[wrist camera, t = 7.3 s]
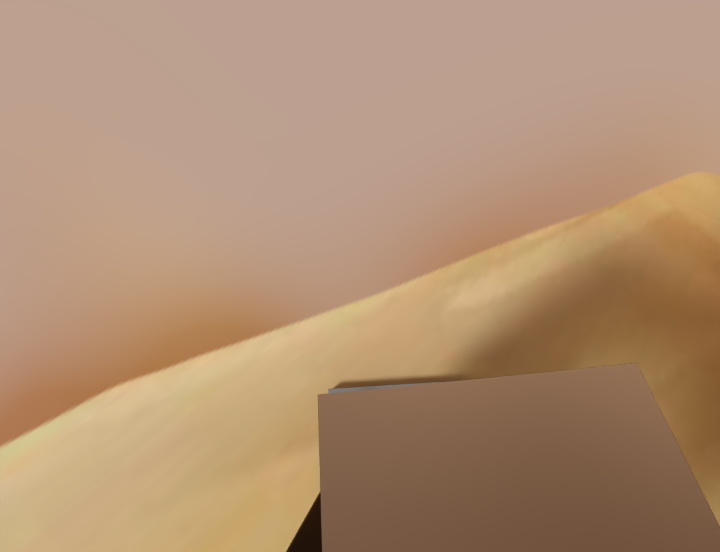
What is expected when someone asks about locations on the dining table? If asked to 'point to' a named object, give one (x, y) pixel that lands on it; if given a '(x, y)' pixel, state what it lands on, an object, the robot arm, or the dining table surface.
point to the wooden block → (508, 468)
